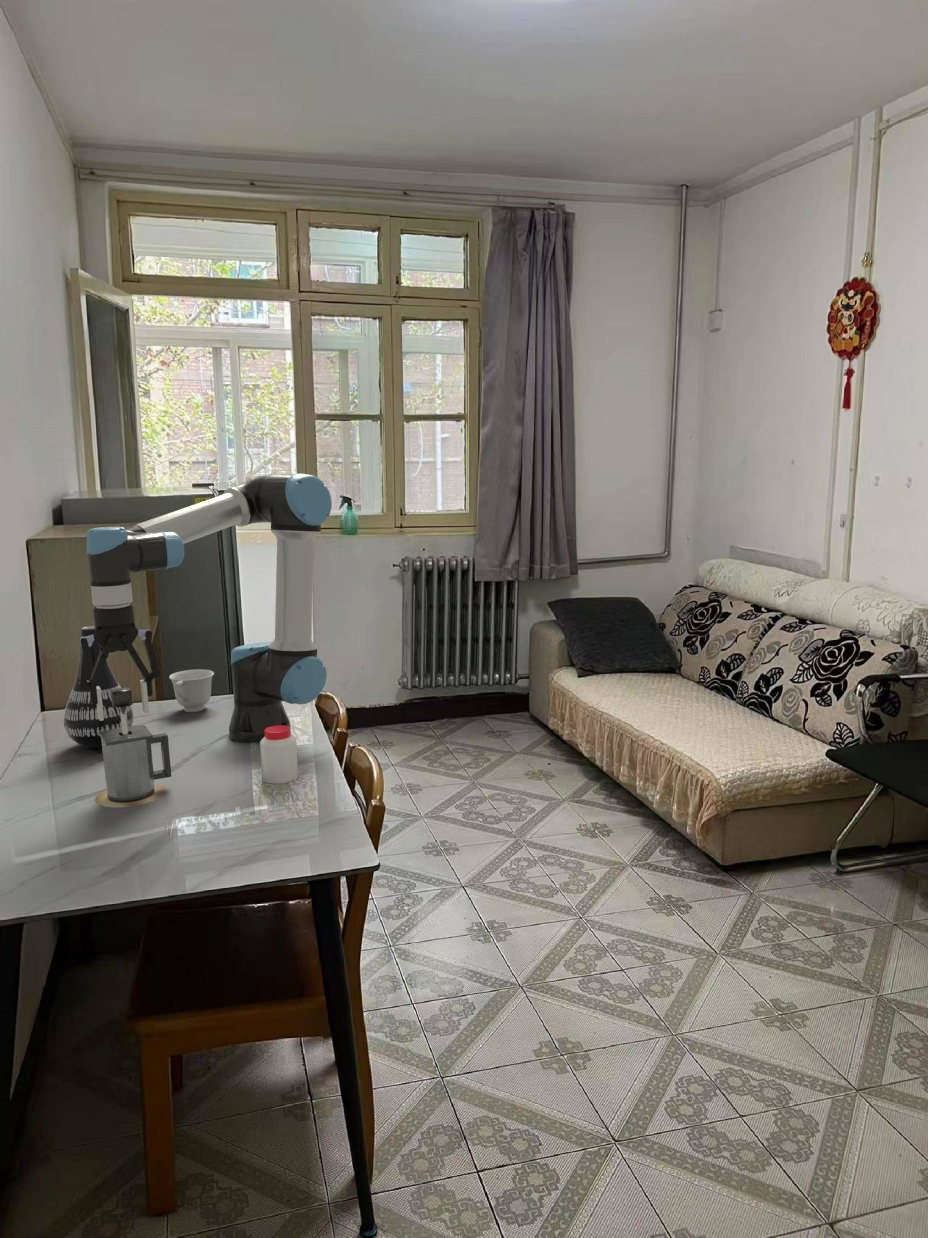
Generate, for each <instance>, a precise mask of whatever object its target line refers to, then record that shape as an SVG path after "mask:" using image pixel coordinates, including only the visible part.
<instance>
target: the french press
mask: <svg viewBox="0 0 928 1238" xmlns="http://www.w3.org/2000/svg"><path fill="white" fill-rule="evenodd" d="M128 732H129V735H122V728H119V729H113V730H107V731H100V732H99V735H100V737H101V741H102V749H101V751H102V759H103V768H104V769H103V770H104V778H105V786H106V787H105V788H106V789H105V790H107V797H108V800H110V801H112V802H117V803H127V802H135V801H139V800H143V799H146V798H148V797H150V796H151V795H153V794H154V792H155V789H154V787H155V784H154V783H155V780H161V779H165V778H171V777H172V769H171V756H170V745H169V735H168V734H167V733H166V732H164V733H157V734H152V732H151V731H150V730H149V729H148V727H147V726H146V725H145V724H139V725H132V726H131V727H128ZM157 743H160V750H161V752H160V753H161V762H162V769H159V770H154V764H153V755H152V754H153V752H152V744H157Z"/></svg>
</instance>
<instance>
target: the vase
mask: <svg viewBox="0 0 928 1238" xmlns="http://www.w3.org/2000/svg"><path fill="white" fill-rule="evenodd" d="M94 630H95V625H94V626H93V625H90V626H83V627H81V629H80V637H81V636H84V637H86V636H90V635H93V633H94ZM100 648H101V645H100V644H99V643H98V642H97V641H96V640H94V641H93V642H92V646H91V647H89V650H90V652H89V664H88V675H87V680H88V681H89V680H90V678H91V675H92V672H93V669H94V666H95V664H96V661H97V658H98V655H99V651H100ZM80 659H81V648H80V651H79V660H78V665H77V670H76V671H77V672H76V677H75V679H74V682H73V687H72V688H71V691H70V694H69V697H68V699H67V702H66V706H65V708H64V711H63V726H64V730H65V733H66V734H67V736H68V737H69V738H70V739H71V740H72V741H74V742H75V743H76V744H78V745H80V746H83V747H86V748H87V749H89V750H94V751H96V750H98V751H99V750H102V741H101V737H100V735H99V732H100V731H107V730H113V729H119V728H122V725H121V715H120V707H113V706H112V699H111V691H112V690H114V689H118V688H122V687H121V685H120V683H119V682H118V680H117V679H116V676H115V674H114V673H113V670H112V668H111V666H110V664H109V661H108V658H107V659H106V662H105V664H104V667H103V670H102V673H101V676H100V678H99V681H98V684H97V686H99V687H100V688H101V696H102V706H103V716H104V720H102V721H100V720H99V719H98V713H97V704H92V703H91V701H90V692H89V688H86V687H81V686H80V684H79V670H80ZM126 711H127V722H128V727H131V726H133V724H134V711H133V707H132V705H130V706H127V707H126Z"/></svg>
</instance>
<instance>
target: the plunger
mask: <svg viewBox="0 0 928 1238" xmlns="http://www.w3.org/2000/svg"><path fill="white" fill-rule="evenodd" d="M111 699H112V706H113V707H120V715H121V725H122V735H129V732H128V722H127V711H126V707H127V706H130V705H131V706H132V705H134V699H133V689H132V688H131V687H121V688H118V689H114V690H112V691H111Z"/></svg>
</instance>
